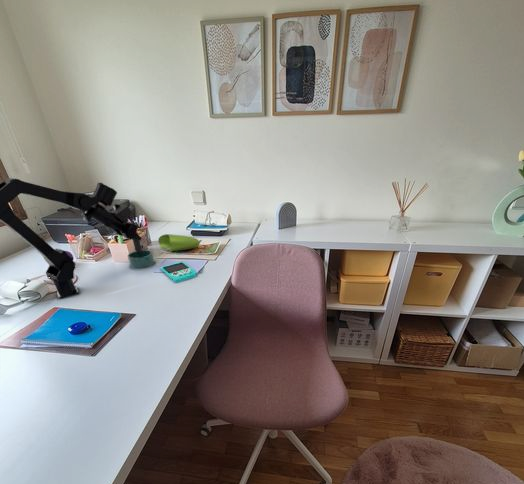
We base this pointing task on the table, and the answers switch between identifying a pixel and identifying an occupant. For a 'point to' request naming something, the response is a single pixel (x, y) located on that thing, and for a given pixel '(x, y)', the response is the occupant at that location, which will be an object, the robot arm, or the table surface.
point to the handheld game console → (179, 271)
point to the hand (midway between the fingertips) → (138, 238)
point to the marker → (137, 245)
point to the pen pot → (141, 259)
